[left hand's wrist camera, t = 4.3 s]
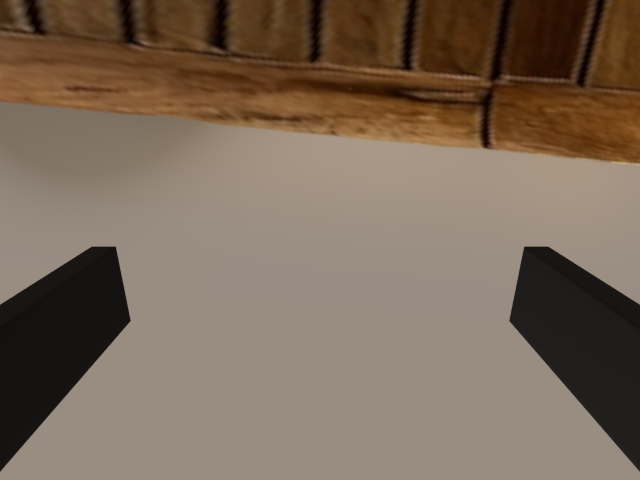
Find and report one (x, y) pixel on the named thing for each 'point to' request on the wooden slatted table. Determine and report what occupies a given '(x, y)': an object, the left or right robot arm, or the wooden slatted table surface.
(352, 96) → the wooden slatted table surface
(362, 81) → the wooden slatted table surface
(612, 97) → the wooden slatted table surface
